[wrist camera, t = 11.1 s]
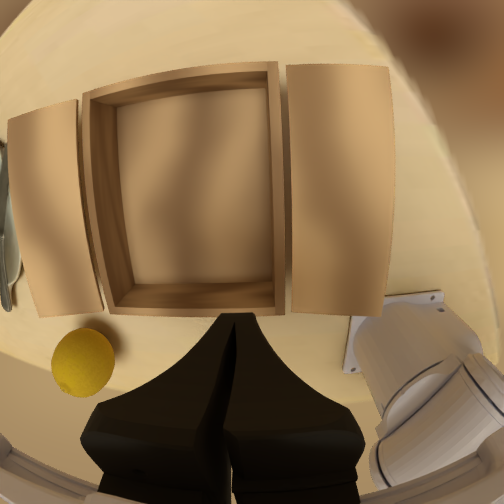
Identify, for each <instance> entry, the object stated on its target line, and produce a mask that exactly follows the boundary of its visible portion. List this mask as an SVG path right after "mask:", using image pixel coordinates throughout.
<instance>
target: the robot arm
mask: <svg viewBox="0 0 504 504" xmlns="http://www.w3.org/2000/svg"><path fill="white" fill-rule="evenodd" d="M431 296H432V298H431ZM430 298H431V299H430ZM443 299H444V292H442V291H441V290H439V291H431V292H423V293H415V294H406V295H396V296H386V297H384V303H383V309H382V314H381V317H367V316H351V321H350V328H349V334H348V341H347V347H346V352H345V358H344V364H343V372H344V373H345V374H351V373H358V372H362V373H363V375H364V378H365V380H366V382H367V385H368V387H369V389H370V392H371V394H372V397H373V399H374V401H375V404H376V406H377V409H378V411H379V414H380V416H381V419H382V421H381V423H380V424H379V425H378V426H377V427H376V428H375V429H376V432H377V434H378V437H379V441H377V442H376V443H375V444H374V445H373V446H372V448H371V451H370V455H369V467H370V473H371V476H372V480H373V482H374V484H375V486H376V487H377V489H378V490H379V491H376V492H372V493H368V494H365V495H361V496H359V493H358V489H357V485H356V481H357V479H358V476H357V472H356V468H355V466H356V464H357V463H358V461H359V459H360V457H361V455H362V453H363V451H364V448H365V441H364V437H363V434H362V431H361V429H360V427H359V425H358V423H357V422H356V420H355V418H354V416H353V415H352V413H351V411H350V410H349V409H348V408H346V407H345V406H342V405H340V404H339V403H337V402H335V401H333V400H331V399H329V398H327V397H325V396H323V395H322V394H320V393H319V392H317V391H316V390H314V389H313V388H312V387H310V386H309V385H308V384H306V383H305V382H304V381H303V380H301V379H300V378H299V377H298V376H297V375H296V374H294V373H293V372H292V371H291V370H290V369H289V368H288V367H287V366H286V365H285V363H284V362H283V361H282V360H281V359H280V358H279V357H278V355H277V354H276V353H275V351H274V350H273V349H272V347H271V346H270V344H269V343H268V341H267V340H266V338H265V336H264V335H263V333H262V331H261V329H260V327H259V325H258V323H257V320H256V316H255V314H254V313H253V312H244V313H221V314H220V315H219V316H218V317H217V319H216V320H215V322H214V323H213V324H212V326H211V327H210V328H209V329H208V331H207V332H206V333H205V334H204V336H203V337H202V338H201V339H200V340H199V341H198V343H197V344H196V345H195V346H194V347H193V348H192V349H191V350H190V351H189V352H188V353H187V354H186V355H185V356H184V357H183V358H181V359H180V360H179V361H178V362H177V363H176V364H174V365H173V366H172V367H170V368H169V369H168V370H166V371H165V372H163V373H162V374H160V375H159V376H157V377H156V378H154V379H152V380H151V381H149V382H147V383H146V384H144V385H142V386H140V387H138V388H136V389H134V390H132V391H130V392H127V393H125V394H123V395H120V396H118V397H115V398H112V399H109V400H106V401H104V402H101V403H98V404H97V406H96V408H95V409H94V411H93V412H92V414H91V416H90V418H89V420H88V422H87V424H86V427H85V429H84V431H83V433H82V435H81V437H80V441H81V444H82V446H83V448H84V450H85V451H86V453H87V454H88V455H89V456H90V457H91V459H92V460H93V461H94V462H95V463H96V464H97V465H98V466H99V468H100V469H101V470H102V471H103V472H104V474H103V476H102V479H101V482H100V485H96V484H93V483H90V482H87V481H84V480H82V479H79V478H76V477H74V476H71V475H69V474H67V473H64V472H62V471H60V470H57V469H55V468H53V467H51V466H48V465H46V464H44V463H42V462H40V461H38V460H36V459H34V458H32V457H30V456H28V455H26V454H25V453H23V452H21V451H19V450H17V449H16V448H14V447H12V445H11V444H10V442H9V441H8V440H7V439H6V438H5V437H4V436H3V435H2V434H1V433H0V497H1V498H2V499H4V500H5V501H6V502H8V503H9V504H231V466H232V470H233V472H232V493H234V496H235V499H236V502H237V504H504V375H503V374H502V373H501V372H500V371H499V370H498V369H497V368H496V367H495V366H494V365H493V364H492V363H491V362H490V361H489V360H488V359H487V358H486V357H485V356H483V349H482V346H481V343H480V340H479V338H478V336H477V335H476V333H475V332H474V331H473V330H472V329H471V328H470V327H469V326H468V325H467V324H466V323H465V322H464V321H463V320H462V319H461V318H460V317H459V316H457V315H456V314H455V313H454V312H453V311H452V310H451V309H450V308H449V307H448V306H447V305H446V304H444V303H443ZM352 368H354V369H352Z"/></svg>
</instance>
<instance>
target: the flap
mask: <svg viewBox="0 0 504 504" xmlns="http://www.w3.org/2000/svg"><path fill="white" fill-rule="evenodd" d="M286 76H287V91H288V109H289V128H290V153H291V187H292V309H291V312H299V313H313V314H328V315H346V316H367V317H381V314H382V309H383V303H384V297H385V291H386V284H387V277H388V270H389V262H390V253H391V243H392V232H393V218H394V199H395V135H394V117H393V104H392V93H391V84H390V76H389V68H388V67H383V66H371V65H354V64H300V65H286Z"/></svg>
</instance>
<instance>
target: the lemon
mask: <svg viewBox="0 0 504 504" xmlns="http://www.w3.org/2000/svg"><path fill="white" fill-rule="evenodd" d="M114 365H115V356H114V352H113V349H112V346H111V344H110V342H109V341H108V340H107V338H106V337H105V336H103V335H102V334H101V333H99V332H98V331H96V330H93V329H89V328H79V329H76V330H74V331H71V332H70V333H68V334H67V335H66V336H65V337H64V338H63V339H62V340H61V341H60V342H59V343H58V345H57V347H56V349H55V351H54V354H53V357H52V361H51V367H52V373H53V376H54V379H55V381H56V382H57V384H58V385H59V387H60V389H61V390H62V391H63V392H65V393H68V394H70V395H72V396H75V397H89V396H92V395H94V394H96V393H97V392H99V391H100V390H101V389H102V388H103V387H104V386H105V385H106V384H107V382H108V381H109V379H110V377H111V375H112V372H113V369H114Z"/></svg>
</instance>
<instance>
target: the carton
mask: <svg viewBox="0 0 504 504" xmlns="http://www.w3.org/2000/svg"><path fill="white" fill-rule="evenodd" d="M82 144H83V163H84V176H85V187H86V196H87V205H88V212H89V219H90V226H91V232H92V238H93V244H94V249H95V254H96V259H97V264H98V269H99V273H100V278H101V282H102V286H103V290H104V294H105V298H106V302H107V305H108V309H109V313H110V314H117V315H138V316H168V317H218V316H219V315H220V314H221V313H244V312H253V313H254V314H255V316H276V315H285V213H284V173H283V145H282V122H281V103H280V86H279V70H278V61H273V62H242V63H227V64H216V65H207V66H199V67H191V68H184V69H178V70H172V71H167V72H161V73H156V74H151V75H147V76H142V77H138V78H134V79H130V80H126V81H122V82H118V83H114V84H111V85H107V86H104V87H101V88H98V89H94V90H91V91H88V92H85V93H83V96H82Z"/></svg>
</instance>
